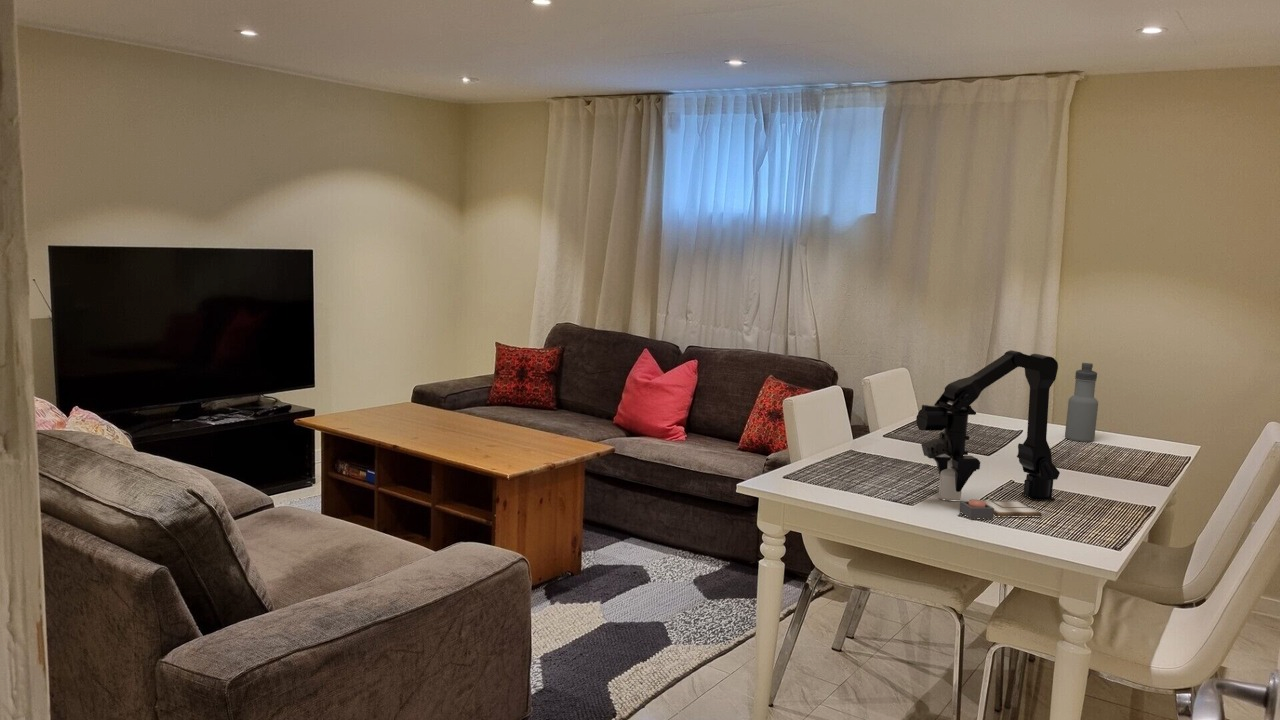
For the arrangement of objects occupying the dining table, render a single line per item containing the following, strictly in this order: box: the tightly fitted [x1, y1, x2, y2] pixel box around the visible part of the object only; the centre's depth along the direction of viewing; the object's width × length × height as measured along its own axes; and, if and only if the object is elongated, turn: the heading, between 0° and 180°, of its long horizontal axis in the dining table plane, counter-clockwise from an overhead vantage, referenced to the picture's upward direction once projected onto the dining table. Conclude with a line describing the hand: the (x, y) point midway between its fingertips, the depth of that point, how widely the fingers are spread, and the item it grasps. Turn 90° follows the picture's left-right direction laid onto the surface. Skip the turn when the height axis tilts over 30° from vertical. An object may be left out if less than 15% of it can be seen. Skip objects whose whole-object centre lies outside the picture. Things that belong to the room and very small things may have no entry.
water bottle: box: [1064, 362, 1099, 443], centre depth 333 cm, size 10×10×28 cm
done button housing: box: [958, 500, 994, 520], centre depth 233 cm, size 6×6×3 cm
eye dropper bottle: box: [938, 458, 962, 501], centre depth 247 cm, size 4×6×12 cm
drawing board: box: [983, 500, 1042, 517], centre depth 239 cm, size 12×11×2 cm
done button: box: [968, 499, 985, 508], centre depth 233 cm, size 4×4×2 cm
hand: (950, 487), depth 247 cm, fingers closed on eye dropper bottle, 8 cm apart
